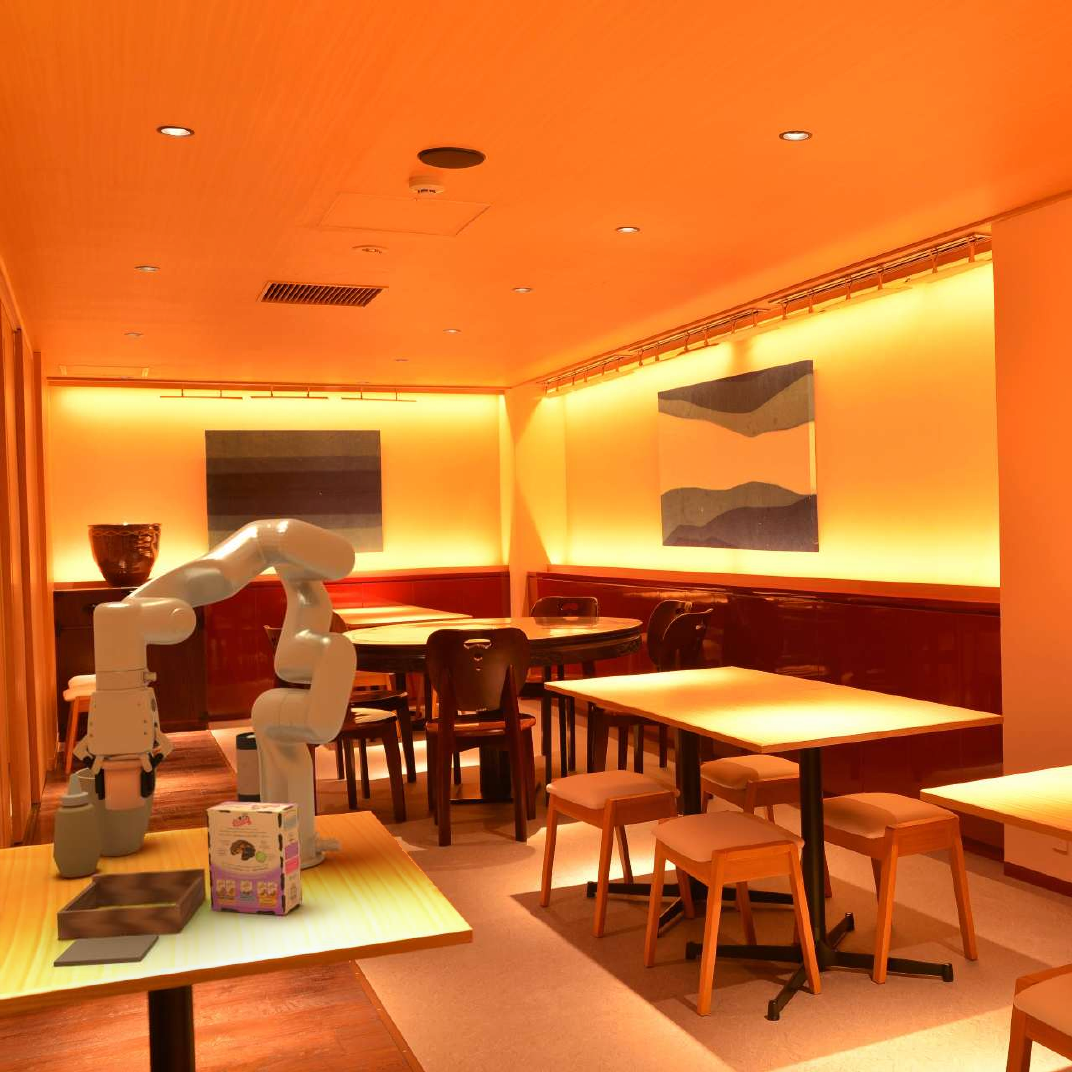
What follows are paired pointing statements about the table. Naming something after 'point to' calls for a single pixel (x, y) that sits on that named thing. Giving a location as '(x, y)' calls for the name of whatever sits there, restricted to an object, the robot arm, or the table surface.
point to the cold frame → (128, 890)
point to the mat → (106, 950)
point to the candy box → (254, 857)
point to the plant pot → (117, 820)
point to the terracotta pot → (123, 782)
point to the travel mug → (247, 768)
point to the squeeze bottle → (76, 833)
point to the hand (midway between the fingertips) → (125, 796)
